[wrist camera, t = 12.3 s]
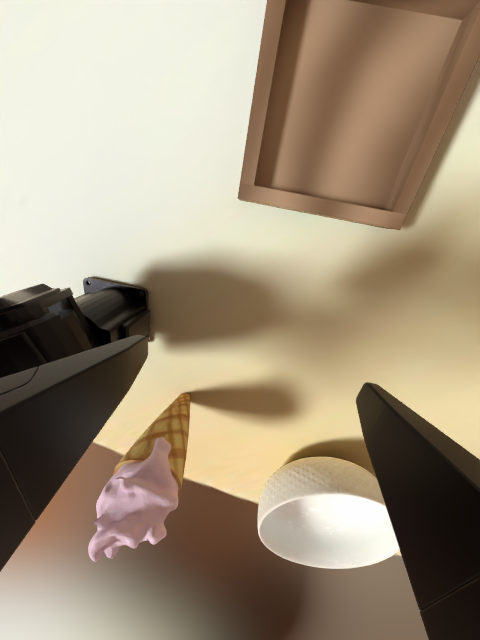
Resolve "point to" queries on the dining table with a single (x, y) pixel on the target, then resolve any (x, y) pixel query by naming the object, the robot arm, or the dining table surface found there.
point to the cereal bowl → (325, 515)
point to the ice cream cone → (144, 484)
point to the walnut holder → (354, 103)
